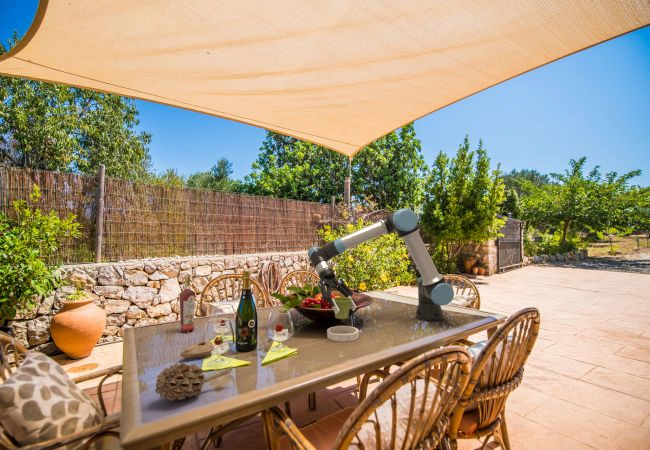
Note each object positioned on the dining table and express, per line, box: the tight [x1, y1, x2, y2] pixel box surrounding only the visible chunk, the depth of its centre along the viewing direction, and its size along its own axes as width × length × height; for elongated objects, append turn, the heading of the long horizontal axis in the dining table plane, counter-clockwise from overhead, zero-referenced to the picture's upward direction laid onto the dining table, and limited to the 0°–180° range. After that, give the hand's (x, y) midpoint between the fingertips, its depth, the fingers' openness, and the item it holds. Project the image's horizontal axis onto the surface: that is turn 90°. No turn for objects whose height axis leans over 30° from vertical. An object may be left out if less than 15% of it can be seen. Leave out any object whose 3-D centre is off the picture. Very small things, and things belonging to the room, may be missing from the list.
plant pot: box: [333, 296, 353, 320], centre depth 147 cm, size 9×9×9 cm
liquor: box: [179, 274, 196, 333], centre depth 158 cm, size 7×7×28 cm
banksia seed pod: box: [154, 362, 235, 402], centre depth 93 cm, size 22×10×10 cm, turn 128°
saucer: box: [326, 325, 360, 343], centre depth 146 cm, size 14×14×3 cm
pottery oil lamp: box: [180, 340, 215, 359], centre depth 123 cm, size 9×12×7 cm
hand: (346, 310), depth 144 cm, fingers closed on plant pot, 9 cm apart
